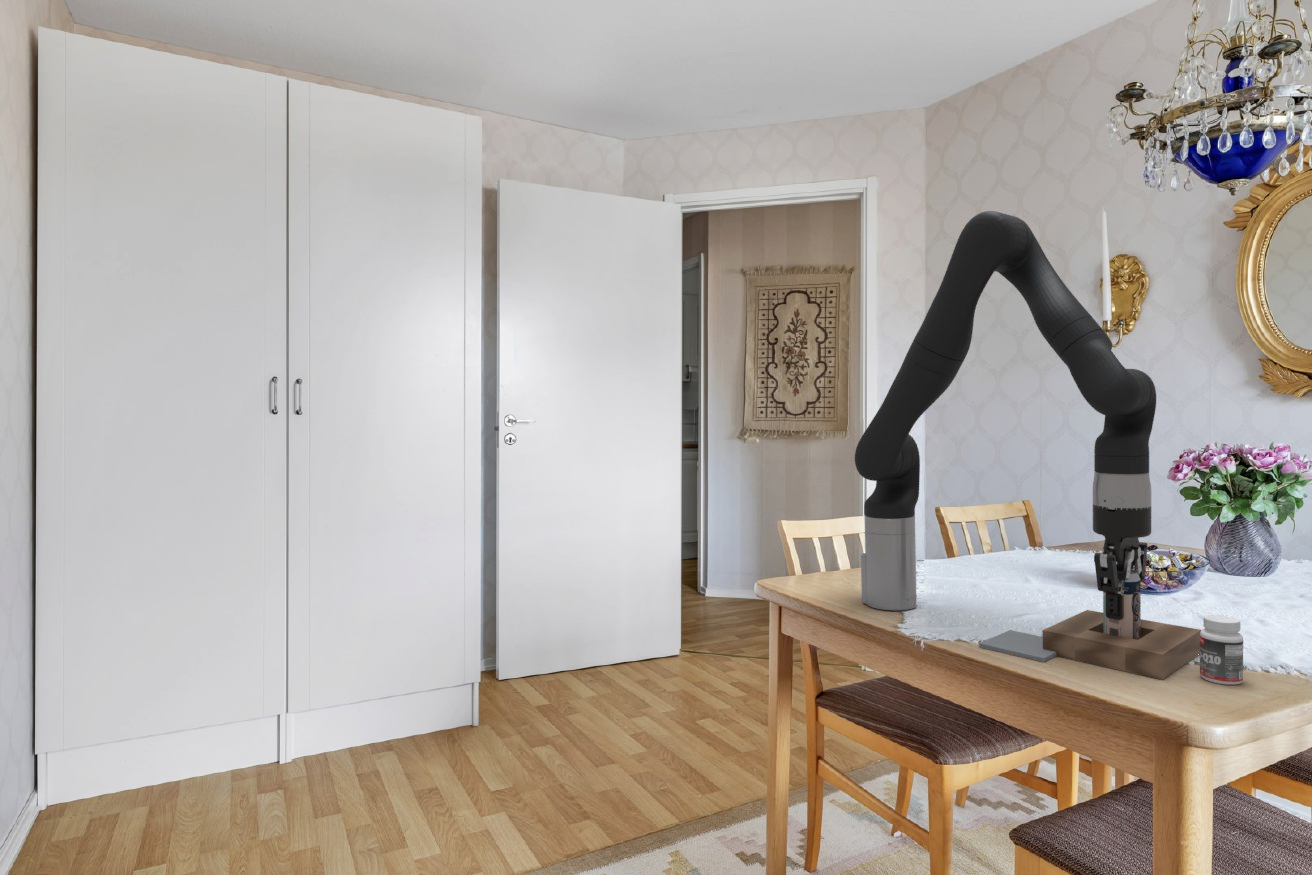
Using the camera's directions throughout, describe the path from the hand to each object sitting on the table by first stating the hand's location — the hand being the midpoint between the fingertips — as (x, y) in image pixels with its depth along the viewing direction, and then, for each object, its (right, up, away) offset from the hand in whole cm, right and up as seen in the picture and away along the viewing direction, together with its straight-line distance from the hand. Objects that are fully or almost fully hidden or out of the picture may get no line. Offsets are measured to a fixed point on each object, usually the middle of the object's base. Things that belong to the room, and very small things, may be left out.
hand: (1121, 614), depth 116 cm
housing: (0, -6, 0) cm, 6 cm away
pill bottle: (+7, -6, -11) cm, 15 cm away
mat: (-12, -6, +4) cm, 14 cm away
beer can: (0, -6, 0) cm, 6 cm away
